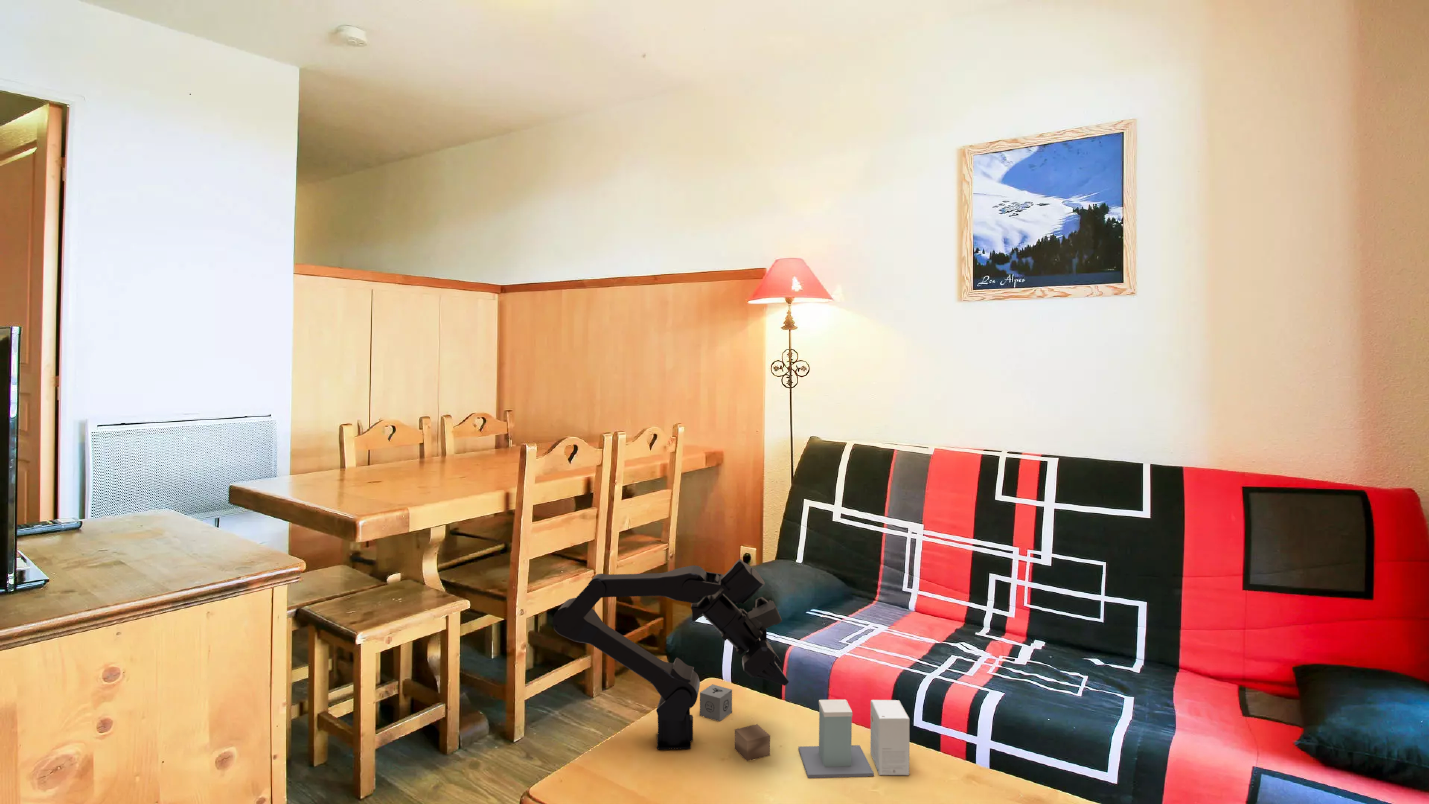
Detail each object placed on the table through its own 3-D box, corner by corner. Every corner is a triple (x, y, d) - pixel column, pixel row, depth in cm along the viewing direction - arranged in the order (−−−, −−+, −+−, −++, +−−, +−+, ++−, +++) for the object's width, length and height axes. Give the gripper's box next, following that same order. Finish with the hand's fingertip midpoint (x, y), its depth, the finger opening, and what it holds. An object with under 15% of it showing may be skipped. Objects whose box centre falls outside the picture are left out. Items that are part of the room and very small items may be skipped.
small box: (909, 776, 130) (910, 718, 130) (878, 776, 130) (879, 718, 130) (899, 753, 138) (899, 699, 138) (869, 753, 138) (870, 698, 138)
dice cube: (731, 712, 155) (732, 689, 154) (719, 721, 150) (719, 698, 150) (712, 706, 157) (712, 684, 157) (699, 715, 153) (699, 692, 153)
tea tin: (823, 767, 132) (824, 712, 131) (818, 752, 137) (818, 699, 137) (851, 766, 132) (852, 712, 132) (845, 751, 137) (845, 699, 137)
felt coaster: (807, 778, 129) (807, 774, 129) (798, 749, 139) (798, 746, 139) (873, 776, 130) (873, 773, 130) (859, 748, 140) (859, 745, 140)
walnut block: (747, 762, 135) (747, 741, 135) (734, 749, 139) (734, 729, 139) (770, 756, 137) (770, 735, 137) (757, 744, 141) (757, 724, 141)
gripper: (762, 604, 131) (822, 663, 132) (751, 576, 150) (803, 628, 151) (719, 647, 131) (779, 706, 132) (713, 614, 150) (766, 666, 151)
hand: (783, 673), depth 141 cm, fingers open, 9 cm apart
